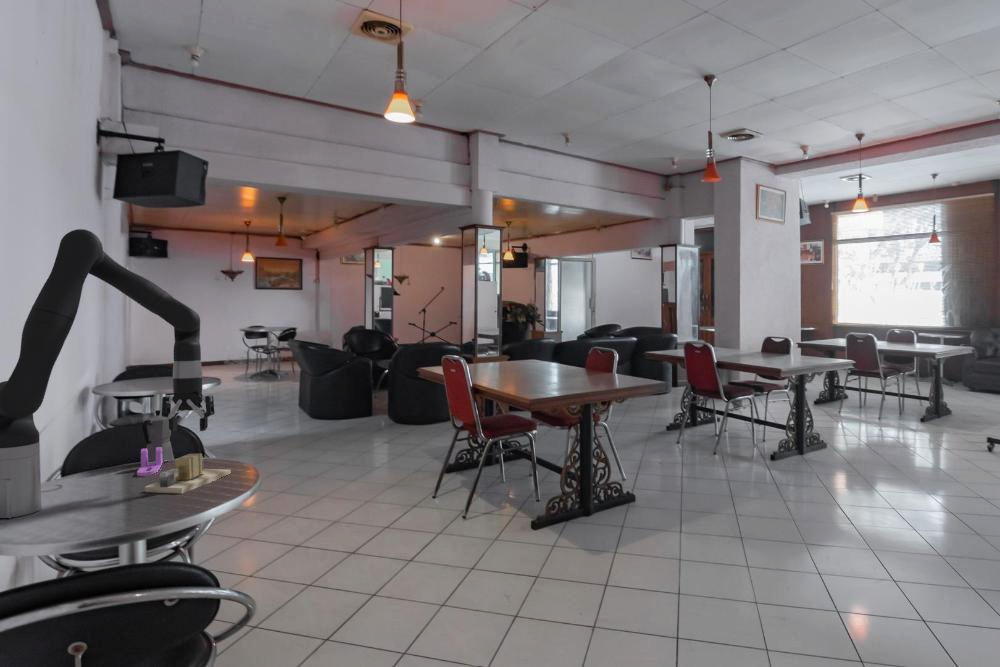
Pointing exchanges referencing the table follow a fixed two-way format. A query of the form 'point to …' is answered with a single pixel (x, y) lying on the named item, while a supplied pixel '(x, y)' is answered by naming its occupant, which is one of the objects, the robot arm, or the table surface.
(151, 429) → the coffeepot
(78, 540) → the table surface
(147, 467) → the bracket
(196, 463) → the tan rectangular block
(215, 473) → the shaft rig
